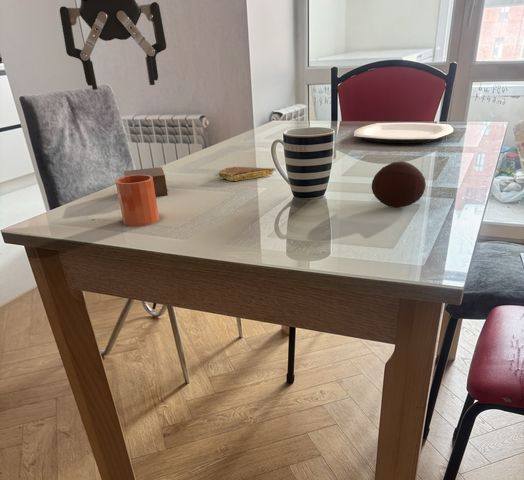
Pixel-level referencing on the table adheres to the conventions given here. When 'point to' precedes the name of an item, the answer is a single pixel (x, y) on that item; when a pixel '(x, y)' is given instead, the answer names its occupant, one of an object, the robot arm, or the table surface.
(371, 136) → the plate
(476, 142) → the table surface
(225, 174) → the cake slice
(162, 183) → the block
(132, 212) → the cup
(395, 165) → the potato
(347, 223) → the table surface
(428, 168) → the table surface
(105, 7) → the robot arm
